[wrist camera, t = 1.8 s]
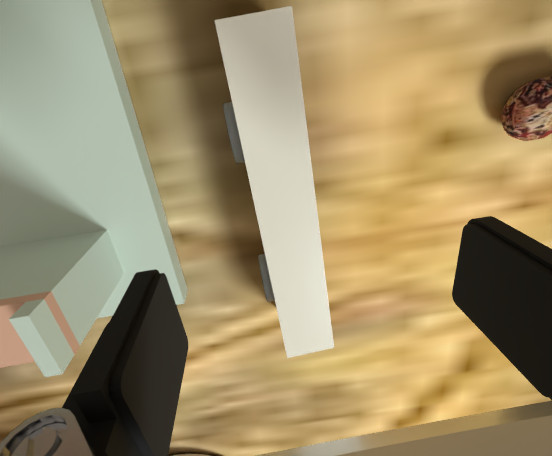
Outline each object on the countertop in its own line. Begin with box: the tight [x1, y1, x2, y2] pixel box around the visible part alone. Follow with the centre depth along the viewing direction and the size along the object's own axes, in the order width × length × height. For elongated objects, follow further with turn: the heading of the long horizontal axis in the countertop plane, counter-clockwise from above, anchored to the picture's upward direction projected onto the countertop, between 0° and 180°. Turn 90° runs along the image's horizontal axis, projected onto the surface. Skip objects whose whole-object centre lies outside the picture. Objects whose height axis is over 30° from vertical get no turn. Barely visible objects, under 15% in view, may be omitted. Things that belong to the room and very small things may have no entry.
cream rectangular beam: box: [215, 6, 334, 358], centre depth 18 cm, size 18×4×5 cm, turn 10°
